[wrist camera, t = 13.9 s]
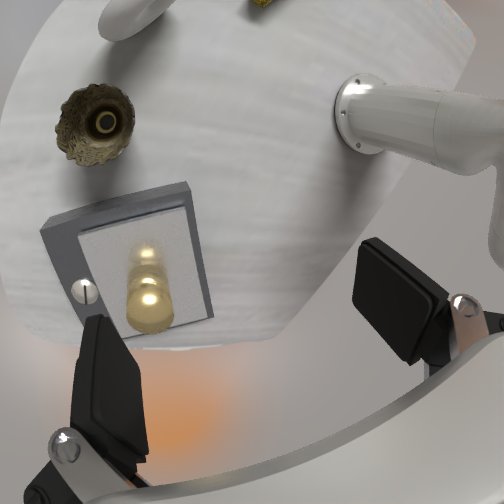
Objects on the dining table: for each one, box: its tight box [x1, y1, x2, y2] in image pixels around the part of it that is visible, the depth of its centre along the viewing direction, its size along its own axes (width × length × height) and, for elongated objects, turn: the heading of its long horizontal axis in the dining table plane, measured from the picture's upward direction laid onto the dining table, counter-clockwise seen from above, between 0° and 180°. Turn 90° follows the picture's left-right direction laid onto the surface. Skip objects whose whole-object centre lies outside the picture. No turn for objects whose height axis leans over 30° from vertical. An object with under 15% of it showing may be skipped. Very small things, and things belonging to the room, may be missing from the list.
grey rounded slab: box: [98, 0, 175, 42], centre depth 16 cm, size 10×4×10 cm, turn 132°
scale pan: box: [78, 206, 208, 338], centre depth 31 cm, size 12×15×1 cm
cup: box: [55, 83, 135, 167], centre depth 22 cm, size 8×7×8 cm
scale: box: [40, 181, 214, 339], centre depth 32 cm, size 18×18×4 cm
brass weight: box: [126, 264, 174, 334], centre depth 28 cm, size 5×5×6 cm
